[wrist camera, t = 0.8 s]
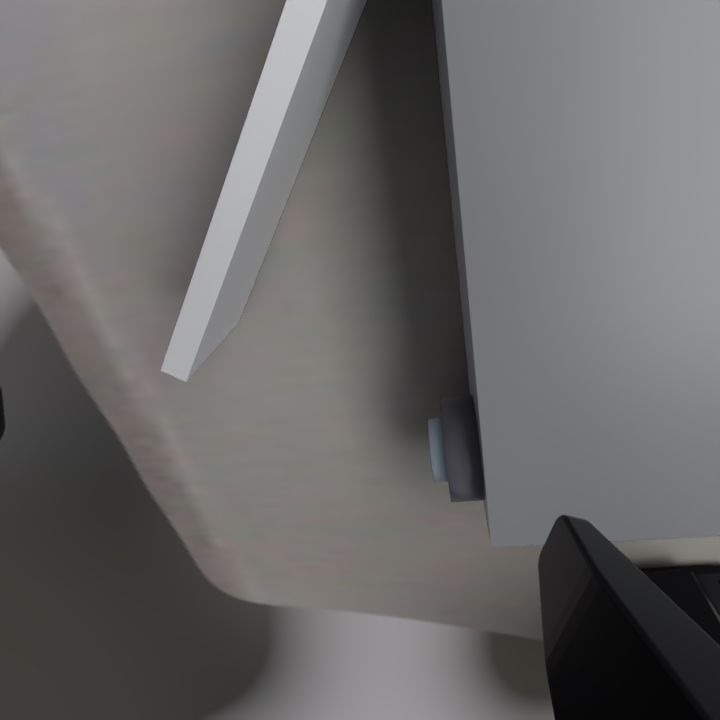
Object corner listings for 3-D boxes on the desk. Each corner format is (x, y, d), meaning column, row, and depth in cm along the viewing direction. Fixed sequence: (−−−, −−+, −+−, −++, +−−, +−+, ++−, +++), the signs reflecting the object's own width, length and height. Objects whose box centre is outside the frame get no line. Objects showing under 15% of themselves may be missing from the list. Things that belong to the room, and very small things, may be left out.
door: (241, 323, 20) (189, 383, 16) (212, 309, 20) (152, 366, 16) (414, -108, 14) (411, -210, 10) (375, -131, 14) (354, -245, 10)
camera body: (743, 427, 20) (870, 550, 15) (435, 452, 22) (441, 569, 16) (831, -201, 13) (1147, -444, 7) (365, -85, 15) (330, -207, 9)
